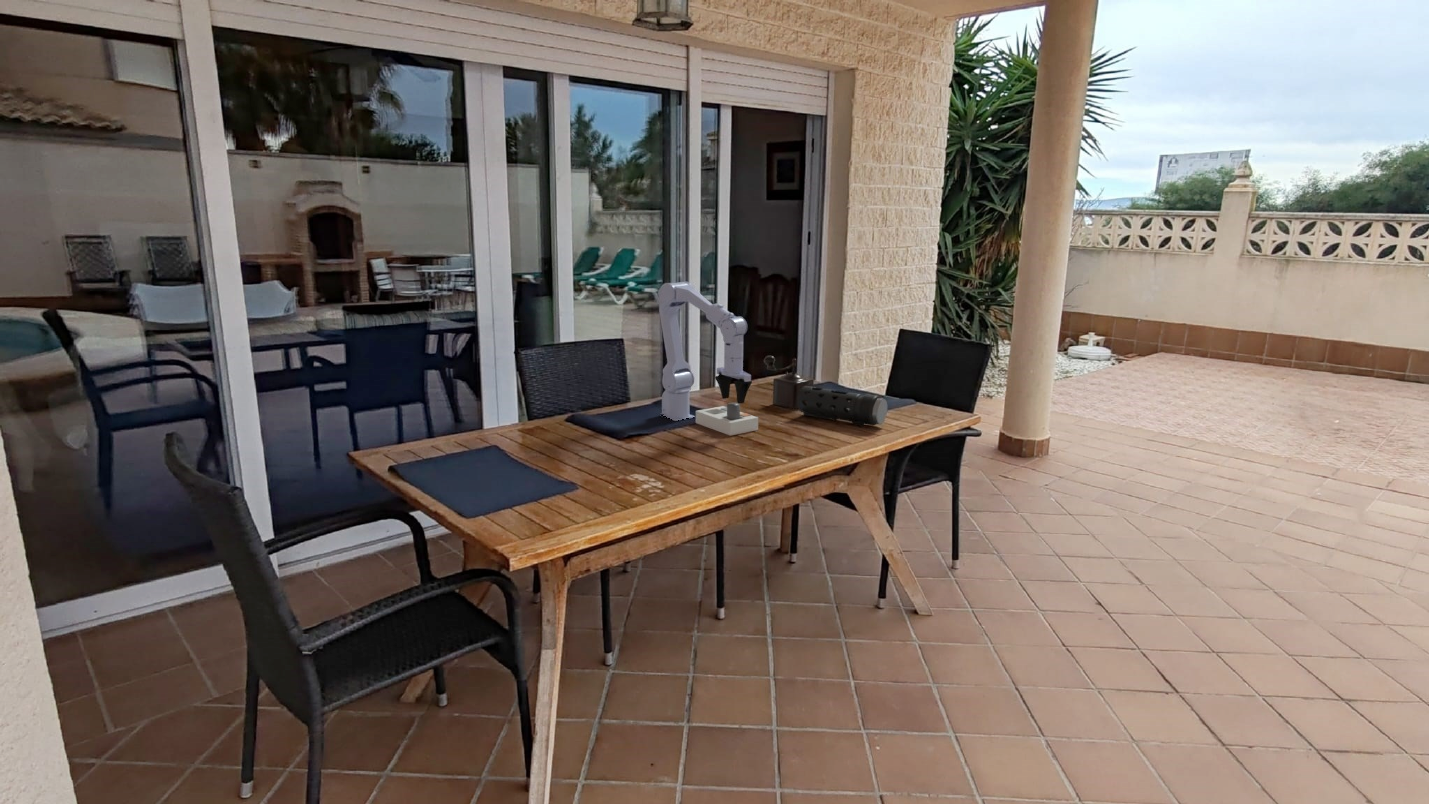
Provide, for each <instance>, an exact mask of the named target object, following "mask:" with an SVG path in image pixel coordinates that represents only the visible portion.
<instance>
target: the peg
mask: <svg viewBox="0 0 1429 804" xmlns="http://www.w3.org/2000/svg"><path fill="white" fill-rule="evenodd" d="M726 407H727V419H728V420H731V421H732V420H737V419H740V412H741V403H740V404H739V403H737V402H735V401H734V402H728V403H726Z"/></svg>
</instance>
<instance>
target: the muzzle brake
mask: <svg viewBox="0 0 1429 804" xmlns="http://www.w3.org/2000/svg"><path fill="white" fill-rule="evenodd" d="M806 393H810V394H808V395H806ZM804 401H805V402H806V401H807V402H808V404H806V403H805V402H804ZM797 404H798V409H797V410H798V411H799V412H800V413H802V414H803V415H804V416H808V417H812V418H813V417H814V418H818V419H823V420H824V419H826V420H834V421H838V420H840V421H845V422H851V423H852V424H853V425H855V426H864V425H869V426H876V425H882V424H883V423H884V422H885V420H886V417H887V414H888V403H887V400H886V399H885V398H882V397H881V396H880V395H877V394H876V395H875V394H868V393H867V394H861V393H855V392H850V391H842V390H836V389H830V388H822V387H816V386H813V387H811V386H804V387H803V388H802V389H801V390H800V392H799V395H798V401H797Z"/></svg>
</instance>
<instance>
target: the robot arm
mask: <svg viewBox="0 0 1429 804" xmlns="http://www.w3.org/2000/svg"><path fill="white" fill-rule="evenodd" d="M657 294H658V295H657V296H658V300H659V301H658V302H659V305H658V311H659V319H660V324H661V328H662V329H661V330H662V336H663V342H664V349H665V353H666V354H665V355H666V359H667V360H666V362H667V363H666V364H665V366H664V367H663V369H662V380H661V381H662V382H661V383H662V387H663V388H664V391H663V393H662V395H661V414H664V415H663V416H666V417H667V419H668V418H670V419H669V420H671V419H672V420H671V421H674V422H679V421H683V420H682V419H684V420H687V419H686V418H689V419H693V417H695V418H696V415H693V414H690V391H691V389H692V387H693V386H694V384H695V376H694V372H693V371H692V368H691V364H690V363H688V362H687V361H685V358H684V357H685V356H684V352H683V351H684V350H683V345H682V344H683V343H682V338H681V337H682V336H681V332H680V331H681V330H680V325H679V324H680V323H679V319H678V311H679V310H680V308H682V306H684V305H685V304H687V303H689V304H691V305H692V306H693V307H695V308H696V309H699V310H700V311H702V312H704V313H705V318H706V319H707V320H708V321H709V322H711V323H712V324H713V325H715V327H717V328H718V329H720V330H719V331H720V333H721V335H722V337H723V338H722V339H723V340H722V341H723V344H724V349H723V350H724V351H723V352H724V353H723V354H724V357H723V362H724V363H723V367H721V366H720V367H716V376H714V379H715V381H716V383H717V384H718V386H719V387H718V388H719V390H720V393H721V398H722V399H723V400H724V399H729V398H730V392H731V384H732V379H733V378H734V379H736V380H733V385H734V386H735V387H734V388H735V392H736V401H737V402H736V403H739V404H740V405H741V404H743V403H745V400H746V397H747V393H748V391H749V389H750V386H751V385H752V384H753V381H752V375H751V374H750V373H748V372H746V371H744V370H743V369H744V368H743V367H744V362H743V361H744V335H745V334H746V333H747V331H748V323H747V322H748V321H746V319H745V318H744V317H743V316H740V315H738V316H736V315H735V314H734V313H733V312H730V311H729V310H727V309H726V308H724V305H723V304H722V303H712V302H711V301H709V300H708V299H707V298H706V297H705V296H704V295H702V294H701V293H700V292H699V291H698V290H696V288H695V286H694V285H693V284H691V283H690V282H689V281H687V280H686V281H685V280H683V281H680V282H678V281H677V282H665V283H663V284H662V285H661V287H660V288H659V289H658V291H657ZM663 416H662V417H663ZM666 417H665V418H666ZM678 420H679V421H678Z"/></svg>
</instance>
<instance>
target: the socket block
mask: <svg viewBox="0 0 1429 804" xmlns="http://www.w3.org/2000/svg"><path fill="white" fill-rule="evenodd" d="M695 424H697V425H699V426H703V427H705V428H709V429H711V430H714V431H717V432H720V433H722V434H725V435H727V436H734V435H740V434H744V433H750V432H754V431H758V430H759V417H758V416H754V415H752V414H750V413H746V412H743V411H740V419H737V420H732V421H731V420H728V419H727V406H724V405H721V406H716V407H712V408H704V409H699V410H695Z"/></svg>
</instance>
